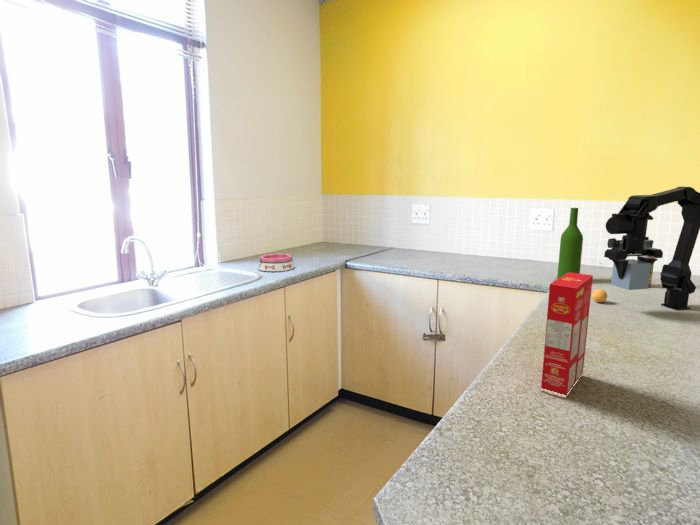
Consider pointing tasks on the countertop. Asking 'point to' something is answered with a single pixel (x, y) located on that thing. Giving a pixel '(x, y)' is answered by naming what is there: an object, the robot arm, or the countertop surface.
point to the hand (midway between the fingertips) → (630, 278)
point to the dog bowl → (276, 263)
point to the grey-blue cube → (633, 275)
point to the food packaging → (566, 331)
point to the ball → (599, 295)
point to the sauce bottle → (649, 244)
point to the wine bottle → (570, 247)
